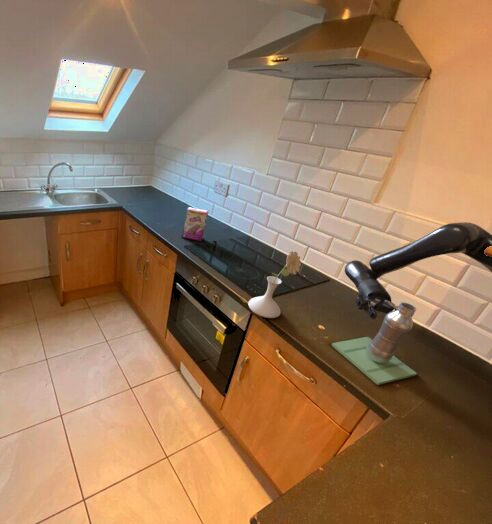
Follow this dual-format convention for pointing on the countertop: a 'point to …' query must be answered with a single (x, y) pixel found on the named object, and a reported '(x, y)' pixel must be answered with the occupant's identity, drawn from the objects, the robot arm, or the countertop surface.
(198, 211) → the pink beige food bag
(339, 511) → the countertop surface
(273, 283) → the flower in vase
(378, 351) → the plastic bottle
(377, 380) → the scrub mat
